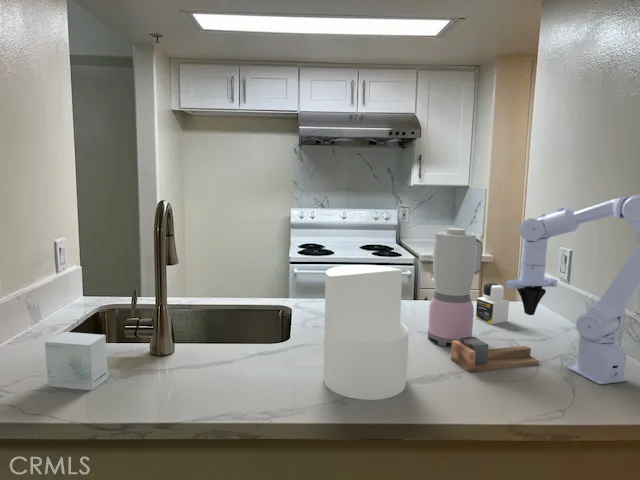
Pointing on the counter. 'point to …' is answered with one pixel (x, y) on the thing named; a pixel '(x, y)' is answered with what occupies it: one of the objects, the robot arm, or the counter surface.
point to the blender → (453, 285)
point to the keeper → (477, 348)
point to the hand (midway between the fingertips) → (529, 314)
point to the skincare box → (76, 360)
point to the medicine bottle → (492, 305)
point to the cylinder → (364, 332)
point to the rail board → (501, 363)
